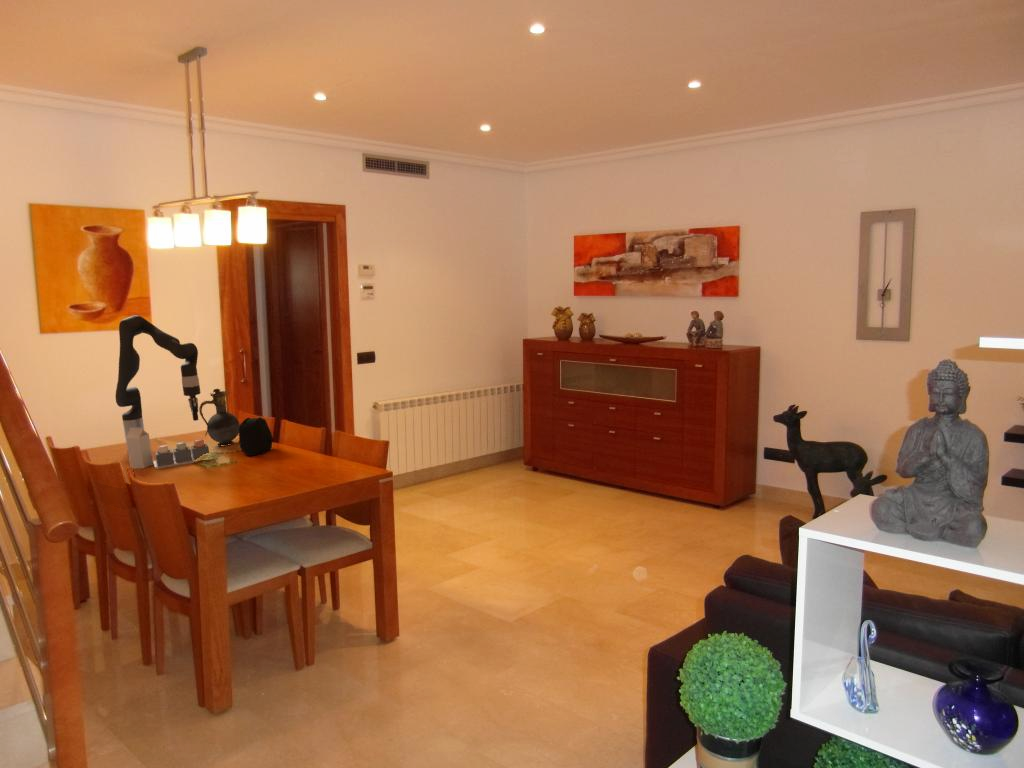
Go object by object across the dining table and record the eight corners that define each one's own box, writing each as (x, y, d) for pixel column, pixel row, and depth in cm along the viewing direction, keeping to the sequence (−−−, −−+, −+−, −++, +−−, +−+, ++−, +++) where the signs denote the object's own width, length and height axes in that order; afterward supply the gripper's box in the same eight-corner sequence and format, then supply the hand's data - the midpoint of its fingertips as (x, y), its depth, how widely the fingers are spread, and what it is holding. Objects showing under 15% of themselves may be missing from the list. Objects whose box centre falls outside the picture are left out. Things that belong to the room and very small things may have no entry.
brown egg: (194, 450, 374) (193, 440, 373) (204, 448, 376) (202, 438, 375) (195, 452, 370) (194, 442, 369) (205, 450, 372) (204, 440, 371)
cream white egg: (159, 456, 367) (157, 446, 366) (168, 454, 369) (167, 444, 368) (159, 458, 363) (158, 448, 362) (169, 456, 365) (168, 446, 364)
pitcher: (244, 442, 400) (237, 386, 395) (209, 451, 387) (201, 392, 382) (235, 439, 408) (228, 384, 402) (200, 448, 394) (192, 390, 389)
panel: (153, 463, 370) (151, 451, 369) (209, 453, 382) (208, 441, 381) (155, 469, 358) (153, 457, 357) (214, 459, 370) (212, 447, 369)
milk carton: (143, 468, 361) (137, 429, 357) (130, 468, 362) (124, 429, 359) (153, 464, 368) (147, 425, 364) (140, 464, 369) (134, 426, 366)
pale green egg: (177, 453, 370) (175, 443, 370) (186, 451, 372) (185, 441, 372) (178, 455, 367) (176, 445, 366) (187, 453, 369) (186, 443, 368)
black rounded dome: (281, 446, 386) (277, 413, 383) (267, 456, 369) (262, 421, 366) (247, 448, 388) (243, 414, 385) (231, 457, 371) (226, 422, 368)
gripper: (181, 384, 372) (185, 419, 375) (184, 387, 360) (189, 423, 363) (197, 382, 375) (202, 416, 378) (201, 385, 363) (205, 421, 367)
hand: (195, 420), depth 371 cm, fingers closed
